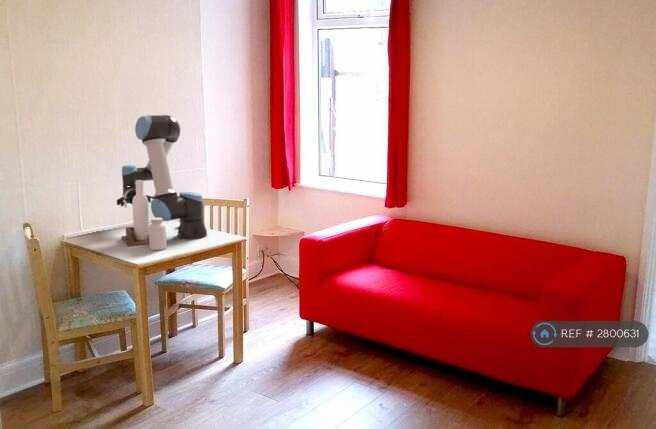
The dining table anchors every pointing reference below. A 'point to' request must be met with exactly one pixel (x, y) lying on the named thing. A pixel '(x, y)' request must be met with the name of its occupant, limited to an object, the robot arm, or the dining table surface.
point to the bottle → (140, 213)
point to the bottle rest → (132, 238)
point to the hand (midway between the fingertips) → (139, 203)
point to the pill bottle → (157, 234)
